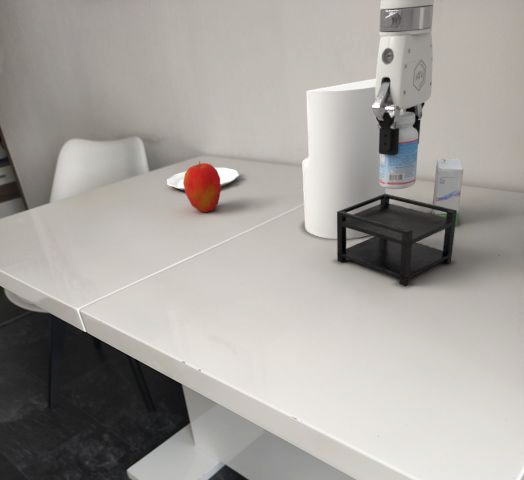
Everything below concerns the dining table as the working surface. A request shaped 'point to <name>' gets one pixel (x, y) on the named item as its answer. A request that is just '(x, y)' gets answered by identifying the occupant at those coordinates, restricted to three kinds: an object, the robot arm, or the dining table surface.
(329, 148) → the cylinder
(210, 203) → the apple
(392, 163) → the pill bottle
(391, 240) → the rack
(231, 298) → the dining table surface
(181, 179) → the plate
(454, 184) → the ink box
